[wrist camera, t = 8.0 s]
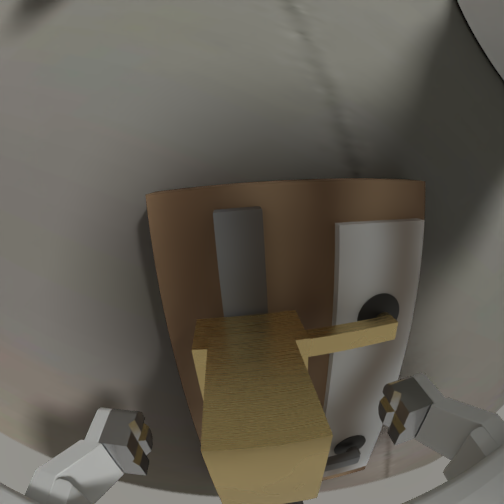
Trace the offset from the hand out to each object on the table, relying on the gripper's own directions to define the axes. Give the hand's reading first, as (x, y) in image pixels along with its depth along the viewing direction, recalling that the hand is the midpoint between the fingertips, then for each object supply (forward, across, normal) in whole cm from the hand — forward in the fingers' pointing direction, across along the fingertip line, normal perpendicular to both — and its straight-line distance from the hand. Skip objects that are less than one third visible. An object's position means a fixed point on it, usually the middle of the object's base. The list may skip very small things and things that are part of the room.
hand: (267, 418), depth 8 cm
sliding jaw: (+5, -2, 0) cm, 6 cm away
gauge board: (+8, -3, +6) cm, 11 cm away
